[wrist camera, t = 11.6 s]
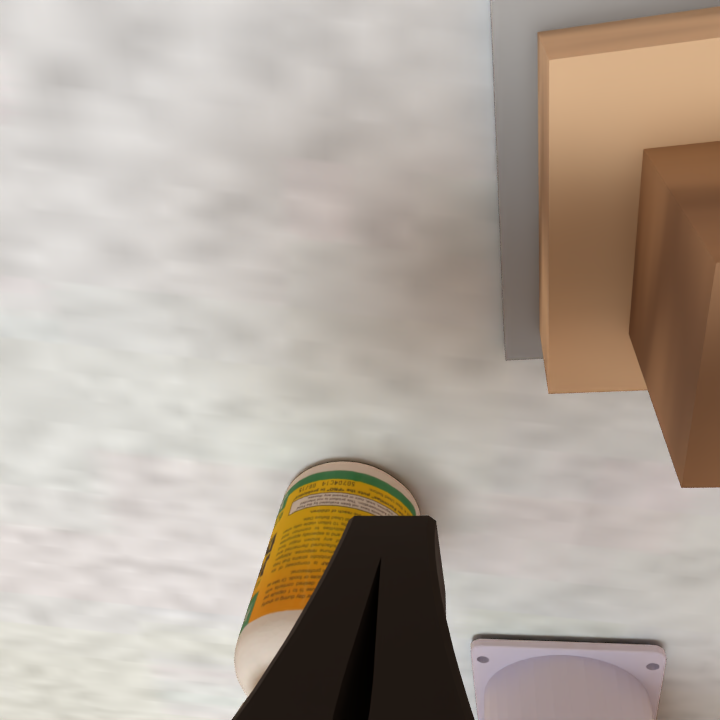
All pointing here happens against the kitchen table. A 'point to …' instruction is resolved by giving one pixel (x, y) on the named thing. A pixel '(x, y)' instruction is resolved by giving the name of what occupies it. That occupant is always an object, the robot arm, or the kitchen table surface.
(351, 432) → the kitchen table surface
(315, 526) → the supplement bottle
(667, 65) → the oak brick
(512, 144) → the baseplate
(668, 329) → the walnut block
